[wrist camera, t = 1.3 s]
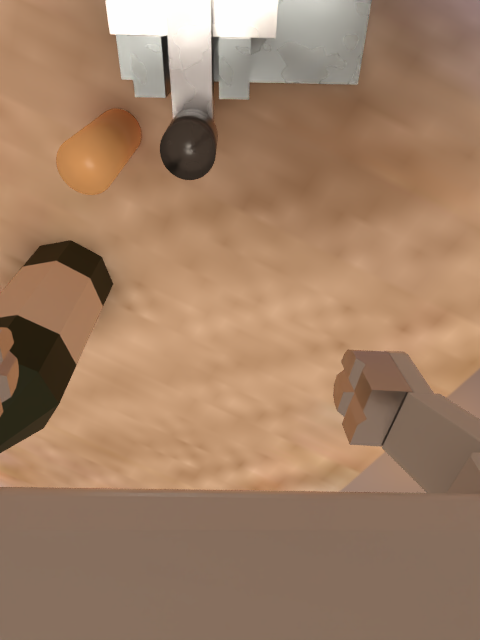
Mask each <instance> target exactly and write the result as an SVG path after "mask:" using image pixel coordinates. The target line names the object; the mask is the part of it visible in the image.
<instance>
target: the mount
mask: <svg viewBox="0 0 480 640" xmlns="http://www.w3.org/2000/svg"><path fill="white" fill-rule="evenodd" d="M105 1H106V8H107V16H108V23H109V31H110V34H116V40H117V48H118V56H119V64H120V71H121V79H126V80H133V82H134V91H135V97H155V98H166V97H167V95H168V94H169V93H170V92H171V82H170V67H169V53H168V38H167V23H166V9H165V0H105ZM371 1H372V0H212V8H213V76H214V81H217V82H219V99H249V88H250V82H262V83H307V84H353V85H358V80H359V74H360V68H361V62H362V56H363V50H364V44H365V38H366V32H367V25H368V19H369V13H370V7H371Z"/></svg>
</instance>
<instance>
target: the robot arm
mask: <svg viewBox="0 0 480 640" xmlns="http://www.w3.org/2000/svg"><path fill="white" fill-rule="evenodd" d="M13 344H14V340H13V336H12V332H11V331H10V330H9V329H8V328H4V327H0V416H1V415H2V413H3V407H2V402H4V401H6V400H7V399H9V398H10V397H11V396H12V394H13V393H14V391H15V389H16V385H17V381H18V377H19V365H18V360H17V357H15V356H14V355H13V354H12V353H11V352H10V351H9V350H10V349H11V347H12V345H13ZM342 365H343V367H344V370H343V371H342V372H340V373H339V374H338V375H337V376H336V380H335V383H334V392H333V397H334V403H335V406H336V409H337V411H338V412H339V413H341V414H342V415H343V416H344V420H343V423H342V425H343V428H344V430H345V433H346V436H347V438H348V441H349V444H350V445H367V446H383V447H382V448H383V449H384V450H385V451H386V452H387V453H388V454H389V455H390V456H391V457H392V458H393V459H394V460H395V461H396V462H397V463H398V464H399V465H400V466H401V467H402V468H403V469H404V470H405V471H406V472H407V473H408V474H409V475H410V476H411V477H412V478H413V479H414V480H415V481H416V482H417V483H418V484H419V485H420V486H421V487H422V488H423V489H424V490H425V491H426V492H427V493H384V492H381V493H380V492H317V491H255V490H185V489H112V488H41V487H0V640H480V419H479V418H477V417H475V416H474V415H472V414H471V413H469V412H468V411H466V410H464V409H463V408H461V407H460V406H458V405H457V404H455V403H453V402H452V401H450V400H449V399H447V398H445V397H444V396H442V395H441V394H434V393H433V391H432V390H431V388H430V387H429V385H428V384H427V382H426V381H425V379H424V378H423V376H422V375H421V373H420V372H419V370H418V369H417V367H416V366H415V364H414V363H413V362H412V360H411V359H410V357H409V356H408V354H406V353H405V352H400V351H384V352H383V351H365V350H347V351H346V352H345V354H344V356H343V359H342Z"/></svg>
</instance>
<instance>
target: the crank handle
mask: <svg viewBox="0 0 480 640" xmlns="http://www.w3.org/2000/svg"><path fill="white" fill-rule="evenodd" d="M165 9H166V23H167V38H168V53H169V67H170V82H171V97H172V111H173V120H172V122H171V123H170V125H169V127H168V128H167V130H166V132H165V133H164V135H163V137H162V140H161V144H160V154H161V158H162V161H163V163H164V165H165V167H166V168H167V169H168V170H169V171H170V172H171V173H172V174H173V175H175V176H176V177H178V178H181V179H185V180H194V179H198V178H201V177H203V176H204V175H205V174H207V173H208V172H209V170H210V169H211V168H212V166H213V164H214V161H215V155H216V147H217V139H218V133H217V128H216V125H215V123H214V76H213V8H212V0H165Z"/></svg>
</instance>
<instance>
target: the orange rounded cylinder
mask: <svg viewBox="0 0 480 640" xmlns="http://www.w3.org/2000/svg"><path fill="white" fill-rule="evenodd" d="M141 136H142V135H141V129H140V126H139V123H138V122H137V120H136V119H135V118H134V116H133V115H131V114H130V113H129V112H127V111H125V110H122V109H110V110H108V111H106V112H104V113H103V114H102V115H100V116H99V117H98V118H96V119H95V120H94V121H92V122H91V123H90V124H88V125H87V126H86V127H84V128H83V129H81V130H80V131H79V132H77V133H76V134H75V135H73V136H72V137H71V138H69V139H68V140H67V141H65V142H64V143H63V144H62V145H61V146H60V148H59V150H58V152H57V157H56V163H57V168H58V171H59V174H60V175H61V177H62V179H63V180H64V181H65V182H66V184H67V185H69V186H70V187H71V188H72V189H74V190H75V191H77V192H80V193H83V194H87V195H95V194H99V193H102V192H104V191H105V190H106V189H107V188H108V187H109V186H110V185H111V183H112V182H113V181H114V179H115V178H116V177H117V175H118V174H119V172H120V171H121V170H122V168H123V167H124V166H125V164H126V163H127V162H128V160H129V159H130V157H131V156H132V155H133V153H134V152H135V151H136V149H137V148H138V147H139V145H140V142H141Z"/></svg>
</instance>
